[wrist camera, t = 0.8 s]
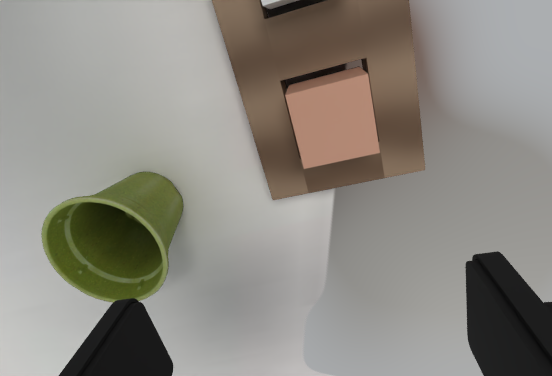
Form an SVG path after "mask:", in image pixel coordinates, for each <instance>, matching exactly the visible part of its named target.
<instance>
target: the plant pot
mask: <svg viewBox="0 0 552 376" xmlns="http://www.w3.org/2000/svg"><path fill="white" fill-rule="evenodd" d="M182 211H183V201H182V197H181V195H180V194H179V193H178V191H177V190H176V189H175V187H174V186H173V184H172V182H171V181H169V180H168V179H167V178H165V177H163V176H161V175H159V174H155V173H151V172H139V173H136V174H134V175H131V176H129V177H127V178H125V179H124V180H122V181H120V182H118V183H116V184H114V185H112V186H111V187H109V188H107V189H105V190H103V191H101V192H99V193H97V194H95V195H91V196H83V197H76V198H72V199H69V200H67V201H65V202H62V203H61V204H59V205H58V206H56V207H55V208H53V209H52V210H51V211H50V212H49V214H48V215H47V217H46V219H45V221H44V224H43V227H42V243H43V247H44V251H45V253H46V255H47V257H48V259H49V261H50V263H51V265H52V266H53V267H54V269H55V270H56V271H57V273H58V274H59V275H60V276H61V277H62V278H63V279H64V280H65V281H67V282H68V283H69V284H70V285H72V286H73V287H75V288H77V289H78V290H80V291H81V292H83V293H85V294H87V295H89V296H91V297H94V298H97V299H101V300H104V301H108V302H115V301H117V300H122V299H130V298H135V299H137V300H138V301H140V300H143V299H146V298H148V297H150V296H151V295H153V294H154V293H156V292H157V291H158V290H159V289H160V287H161V286H162V285H163V283H164V281H165V278H166V276H167V273H168V248H169V246H170V243H171V240H172V237H173V235H174V232H175V230H176V227H177V225H178V222H179V220H180V217H181V214H182Z"/></svg>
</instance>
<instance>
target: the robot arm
mask: <svg viewBox="0 0 552 376" xmlns="http://www.w3.org/2000/svg"><path fill="white" fill-rule="evenodd" d="M466 293H467V332H468V342H469V345H470V348H471V351H472V353H473V355H474V357H475V359H476V361H477V363H478V365H479V367H480V369H481V371H482V373H483V375H484V376H552V302H544V303H543V302H542V301H541V300H540V298H539V297H538V296H537V295H536V294H535V292H534V291H533V290H532V289H531V288H530V287H529V286H528V284H527V283H526V282H525V281H524V279H523V278H522V277H521V276H520V275H519V274H518V272H517V271H516V270H515V269H514V268H513V266H512V265H511V264H510V263H509V262H508V261H507V260H506V258H505V257H504V256H503V255H502V254H501V253H500V252H491V253H483V254H476V255H474V256H473V259H472V261H467V262H466ZM172 373H173V363H172V360H171V358H170V356H169V354H168V352H167V350H166V348H165V346H164V344H163V342H162V340H161V338H160V336H159V334H158V332H157V330H156V328H155V327H154V325H153V323H152V321H151V319H150V317H149V315H148V313H147V311H146V309H145V307H144V305H143V304H142V303H141V302H139V301H138V300H137V299H135V298H130V299H122V300H117V301H115V302H114V303H113V304H112V305H111V306H110V307H109V309H108V310H107V311H106V313H105V314H104V315H103V317H102V318H101V320H100V321H99V322H98V324H97V325H96V326H95V328H94V329H93V330H92V332H91V333H90V334H89V336H88V337H87V338H86V340H85V341H84V342H83V344H82V345H81V346H80V348H79V349H78V350H77V352H76V353H75V354H74V356H73V357H72V358H71V360H70V361H69V363H68V364H67V365H66V367H65V368H64V369H63V371H62V372H61V373H60V375H59V376H172Z"/></svg>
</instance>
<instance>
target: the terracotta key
mask: <svg viewBox="0 0 552 376" xmlns="http://www.w3.org/2000/svg"><path fill="white" fill-rule="evenodd" d="M285 96H286V100H287V104H288V108H289V112H290V116H291V120H292V124H293V128H294V132H295V136H296V140H297V144H298V148H299V152H300V156H301V160H302V164H303V168H304V169H306V168H311V167H316V166H321V165H325V164H330V163H335V162H339V161H344V160H349V159H353V158H358V157H363V156H367V155H372V154H377V153H380V149H379V143H378V136H377V130H376V123H375V117H374V110H373V103H372V97H371V90H370V84H369V77H368V73H366V72H365V71H364V70H363V69H362V68H360V67H356V68H352V69H348V70H344V71H340V72H336V73H333V74H329V75H325V76H321V77H318V78H314V79H310V80H306V81H303V82H299V83H295V84H291V85H289V87H288V89H287V92H286V95H285Z"/></svg>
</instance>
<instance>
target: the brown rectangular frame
mask: <svg viewBox="0 0 552 376" xmlns="http://www.w3.org/2000/svg"><path fill="white" fill-rule="evenodd" d="M212 2H213V5H214V9H215V12H216V15H217V19H218V22H219V25H220V28H221V32H222V35H223V38H224V41H225V45H226V48H227V51H228V55H229V58H230V61H231V64H232V68H233V71H234V74H235V78H236V81H237V84H238V87H239V91H240V94H241V97H242V101H243V104H244V107H245V110H246V114H247V117H248V120H249V123H250V127H251V130H252V133H253V137H254V140H255V143H256V146H257V150H258V153H259V156H260V160H261V163H262V166H263V169H264V173H265V176H266V179H267V183H268V186H269V189H270V192H271V196H272V199H273V200H277V199H282V198H287V197H292V196H297V195H302V194H307V193H312V192H317V191H322V190H327V189H332V188H337V187H342V186H347V185H352V184H357V183H362V182H367V181H372V180H377V179H382V178H387V177H392V176H397V175H402V174H407V173H412V172H417V171H422V170H425V161H424V152H423V141H422V130H421V120H420V109H419V100H418V89H417V79H416V68H415V59H414V48H413V37H412V27H411V17H410V7H409V0H326V1H323V2H320V3H316V4H313V5H310V6H307V7H303V8H300V9H297V10H294V11H290V12H287V13H284V14H281V15H277V16H274V17H271V18H269V17H268V13H267V9H266V7H264V6H263V5H262V2H261V0H212ZM359 59H361V60H362V65H363V70H364V71H365V72H366V73H368V77H369V84H370V90H371V97H372V103H373V110H374V117H375V123H376V130H377V136H378V143H379V149H380V153H377V154H372V155H367V156H363V157H358V158H353V159H349V160H344V161H339V162H335V163H330V164H325V165H321V166H316V167H311V168H306V169H304V168H303V164H302V160H301V156H300V152H299V148H298V144H297V140H296V136H295V132H294V128H293V124H292V120H291V116H290V112H289V108H288V104H287V100H286V96H285V95H286V92H287V89H286V85H285V81H284V80H285V79H289V78H293V77H296V76H300V75H304V74H307V73H311V72H315V71H319V70H322V69H326V68H330V67H333V66H337V65H341V64H345V63H348V62H352V61H356V60H359Z"/></svg>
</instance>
